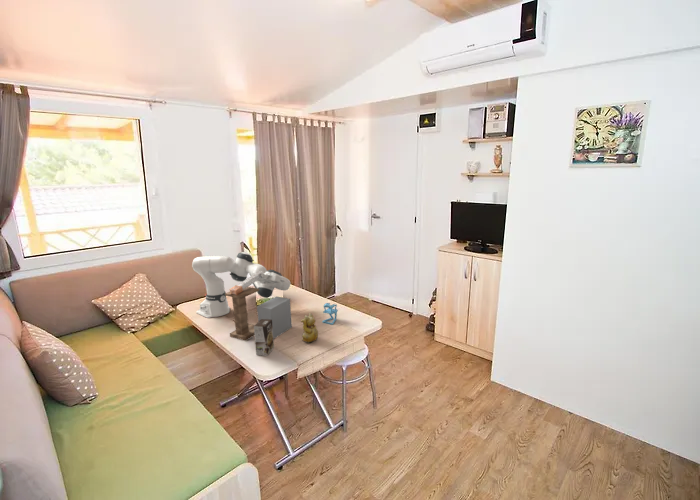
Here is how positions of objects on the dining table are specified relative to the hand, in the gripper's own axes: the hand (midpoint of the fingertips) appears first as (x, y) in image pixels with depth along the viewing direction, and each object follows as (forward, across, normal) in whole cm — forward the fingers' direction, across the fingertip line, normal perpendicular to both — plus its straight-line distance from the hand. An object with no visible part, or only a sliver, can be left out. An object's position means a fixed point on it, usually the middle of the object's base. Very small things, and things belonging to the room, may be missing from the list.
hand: (258, 274), depth 210 cm
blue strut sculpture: (-34, -36, -17) cm, 53 cm away
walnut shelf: (-4, 0, -34) cm, 35 cm away
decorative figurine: (-12, -39, -30) cm, 51 cm away
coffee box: (+5, -24, -40) cm, 47 cm away
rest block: (-12, -14, -30) cm, 35 cm away
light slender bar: (+5, 0, -7) cm, 9 cm away
